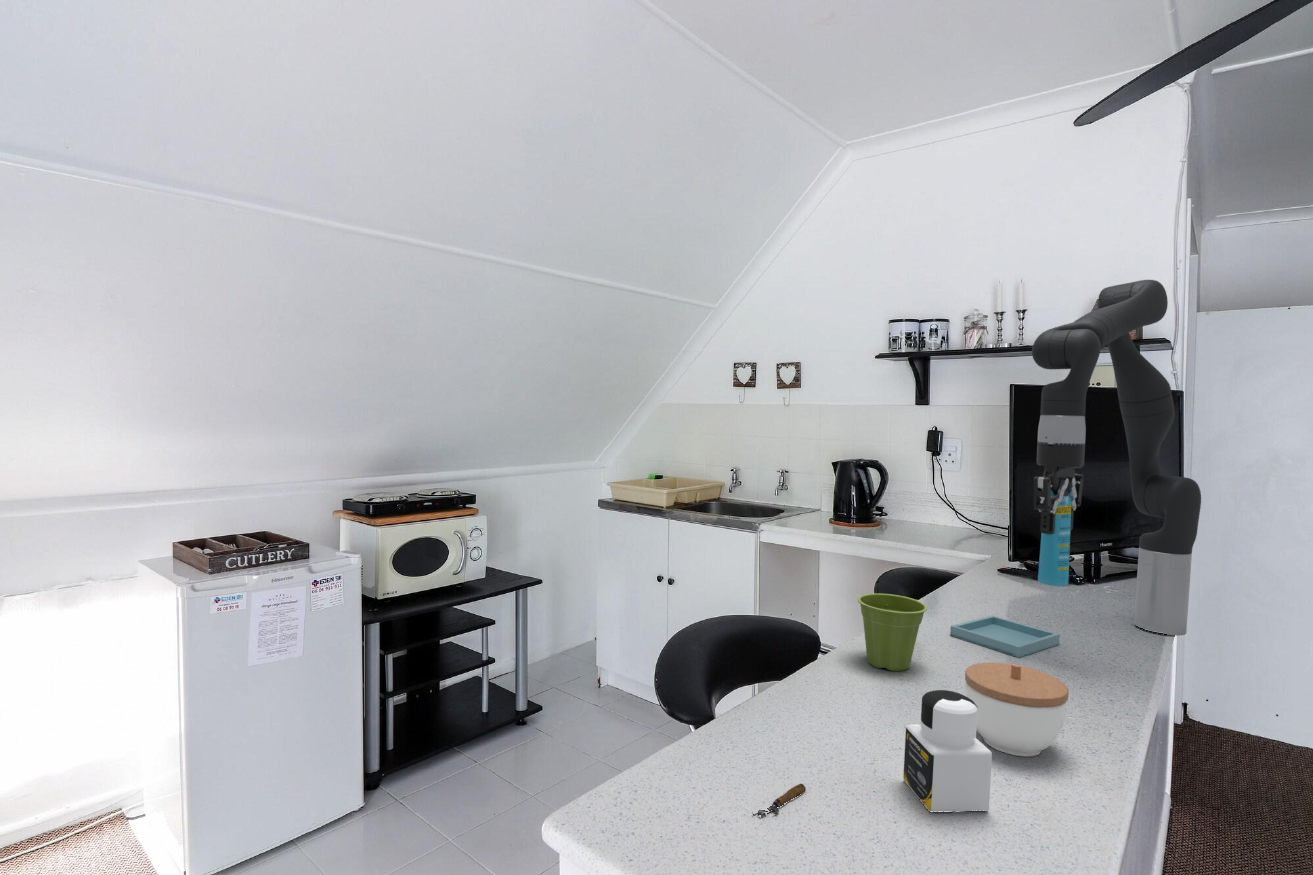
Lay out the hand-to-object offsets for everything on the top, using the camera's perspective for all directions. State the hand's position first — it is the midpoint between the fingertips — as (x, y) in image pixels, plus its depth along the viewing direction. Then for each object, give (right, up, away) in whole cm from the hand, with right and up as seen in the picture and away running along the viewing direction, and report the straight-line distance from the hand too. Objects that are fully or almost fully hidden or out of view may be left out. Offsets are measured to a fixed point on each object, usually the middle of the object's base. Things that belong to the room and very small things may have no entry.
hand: (1056, 531), depth 128 cm
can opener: (-59, -25, -48) cm, 80 cm away
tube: (0, -10, 0) cm, 10 cm away
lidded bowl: (-24, -25, -32) cm, 47 cm away
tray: (-3, -23, +12) cm, 27 cm away
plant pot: (-32, -24, -3) cm, 40 cm away
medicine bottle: (-39, -25, -46) cm, 65 cm away
